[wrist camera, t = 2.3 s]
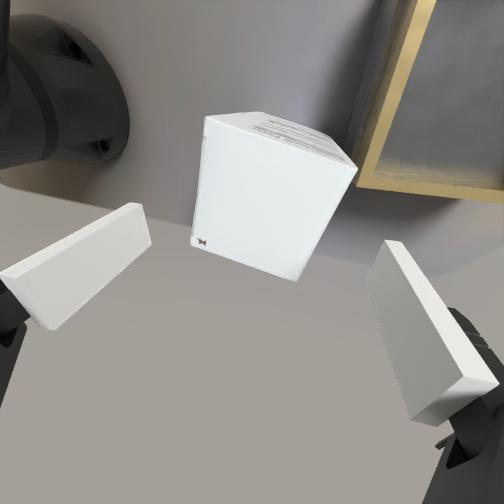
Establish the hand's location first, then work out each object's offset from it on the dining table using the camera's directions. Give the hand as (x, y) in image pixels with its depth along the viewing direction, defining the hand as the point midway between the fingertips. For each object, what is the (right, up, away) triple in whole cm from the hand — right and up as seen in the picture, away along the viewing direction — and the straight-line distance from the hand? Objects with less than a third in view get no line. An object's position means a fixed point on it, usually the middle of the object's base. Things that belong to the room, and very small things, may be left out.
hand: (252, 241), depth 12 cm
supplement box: (+4, +11, +16) cm, 20 cm away
